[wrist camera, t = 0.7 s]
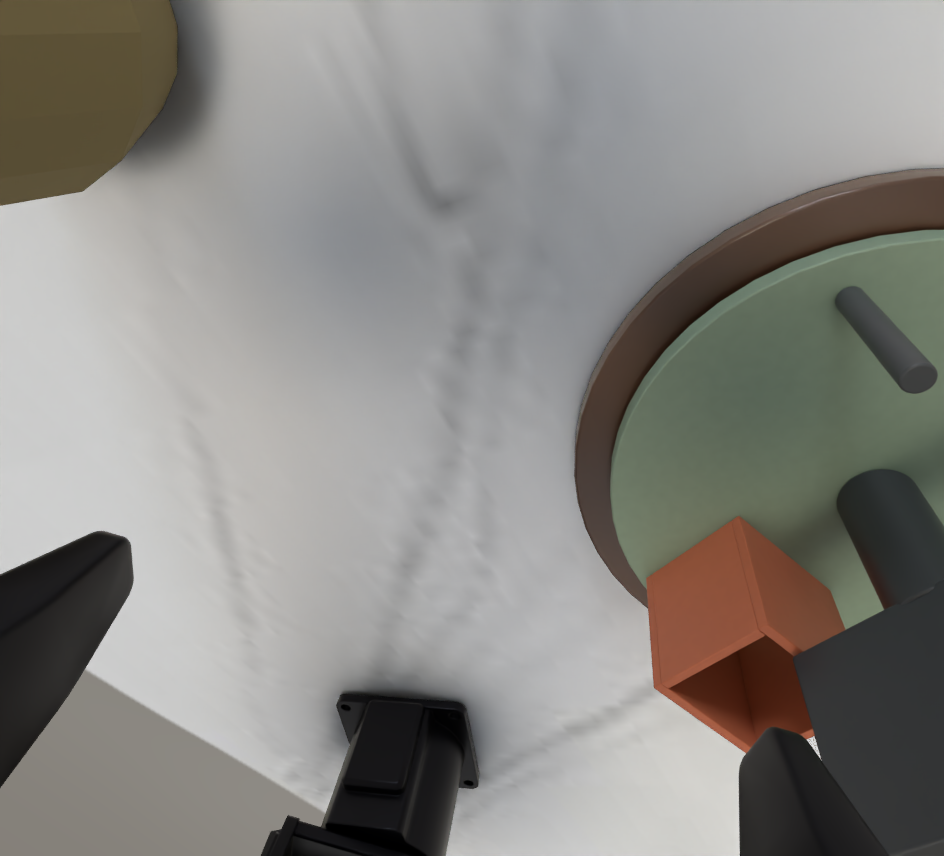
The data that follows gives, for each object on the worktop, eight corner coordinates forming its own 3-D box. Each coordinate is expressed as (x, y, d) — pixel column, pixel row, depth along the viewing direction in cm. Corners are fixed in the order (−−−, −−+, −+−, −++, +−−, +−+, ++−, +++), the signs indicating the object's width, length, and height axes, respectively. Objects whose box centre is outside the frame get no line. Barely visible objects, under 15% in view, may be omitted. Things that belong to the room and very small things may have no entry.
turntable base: (802, 707, 28) (808, 728, 27) (472, 460, 24) (467, 476, 23) (1341, 456, 19) (1376, 476, 18) (949, -3, 15) (969, -5, 14)
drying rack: (816, 709, 26) (924, 1065, 17) (514, 481, 23) (456, 779, 14) (1308, 483, 18) (1975, 926, 9) (956, 84, 15) (1473, 187, 6)
